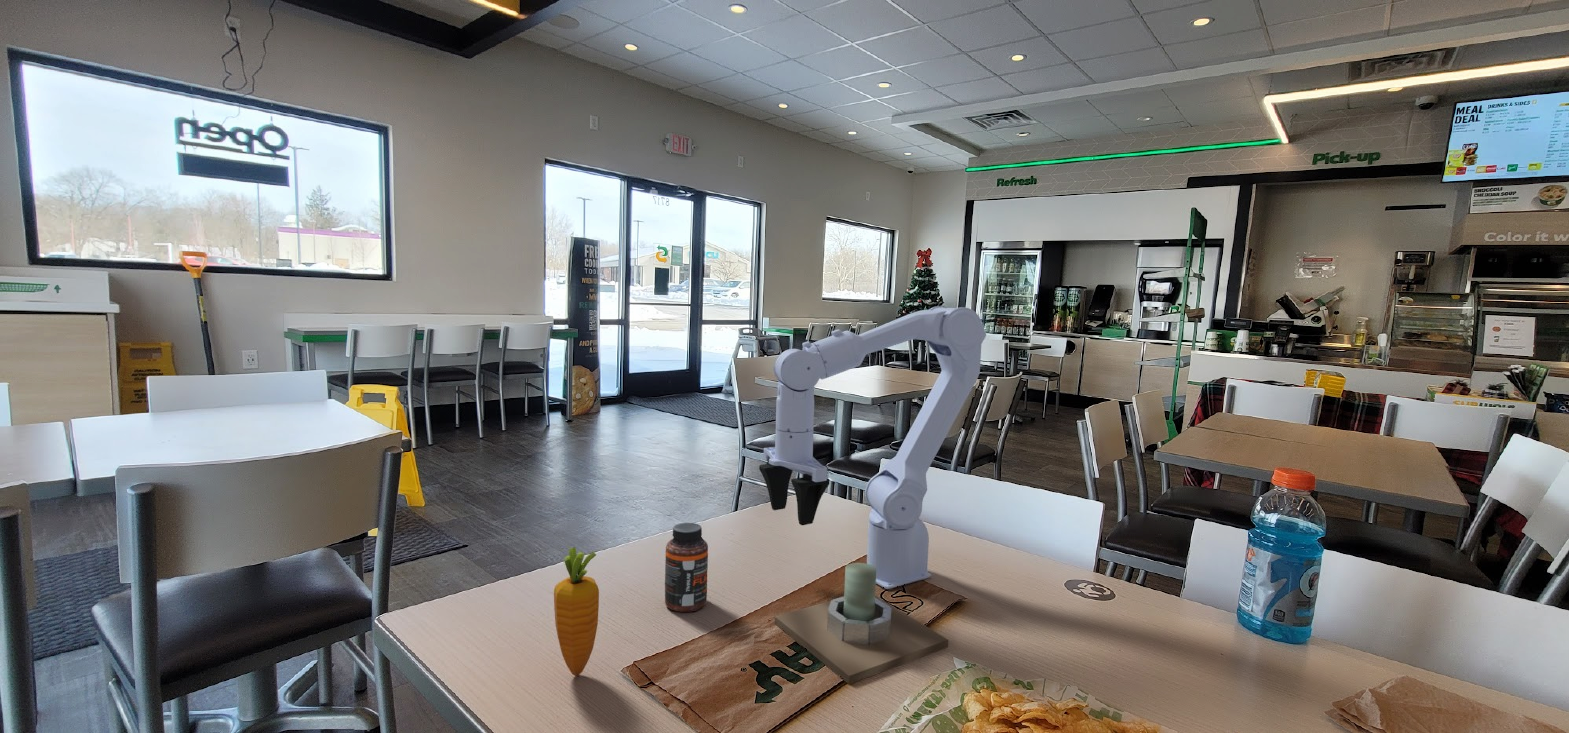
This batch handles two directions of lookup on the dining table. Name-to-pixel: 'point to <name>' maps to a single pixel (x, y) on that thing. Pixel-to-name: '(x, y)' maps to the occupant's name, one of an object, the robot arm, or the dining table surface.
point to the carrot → (576, 612)
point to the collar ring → (859, 624)
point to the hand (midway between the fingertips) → (791, 516)
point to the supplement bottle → (686, 569)
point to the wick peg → (859, 592)
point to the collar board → (859, 658)
